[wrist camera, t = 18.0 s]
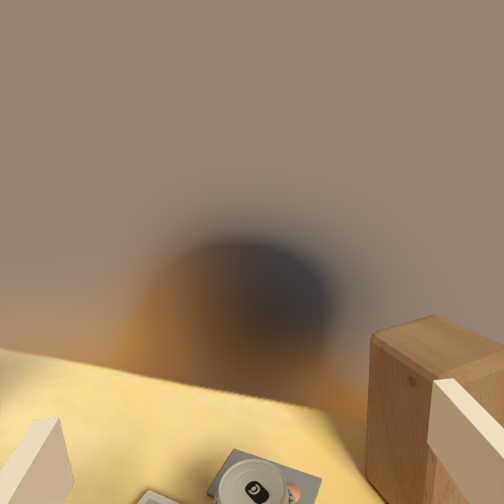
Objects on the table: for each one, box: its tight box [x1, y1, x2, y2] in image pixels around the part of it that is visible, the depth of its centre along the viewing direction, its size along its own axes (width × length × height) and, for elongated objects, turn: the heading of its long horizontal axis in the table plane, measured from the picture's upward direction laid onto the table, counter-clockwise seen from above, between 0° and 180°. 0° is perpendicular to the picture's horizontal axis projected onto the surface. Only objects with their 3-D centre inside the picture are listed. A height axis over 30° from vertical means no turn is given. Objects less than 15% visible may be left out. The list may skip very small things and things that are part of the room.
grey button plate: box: [207, 449, 322, 504], centre depth 44 cm, size 12×7×1 cm, turn 65°
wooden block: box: [365, 315, 504, 504], centre depth 40 cm, size 10×10×20 cm
